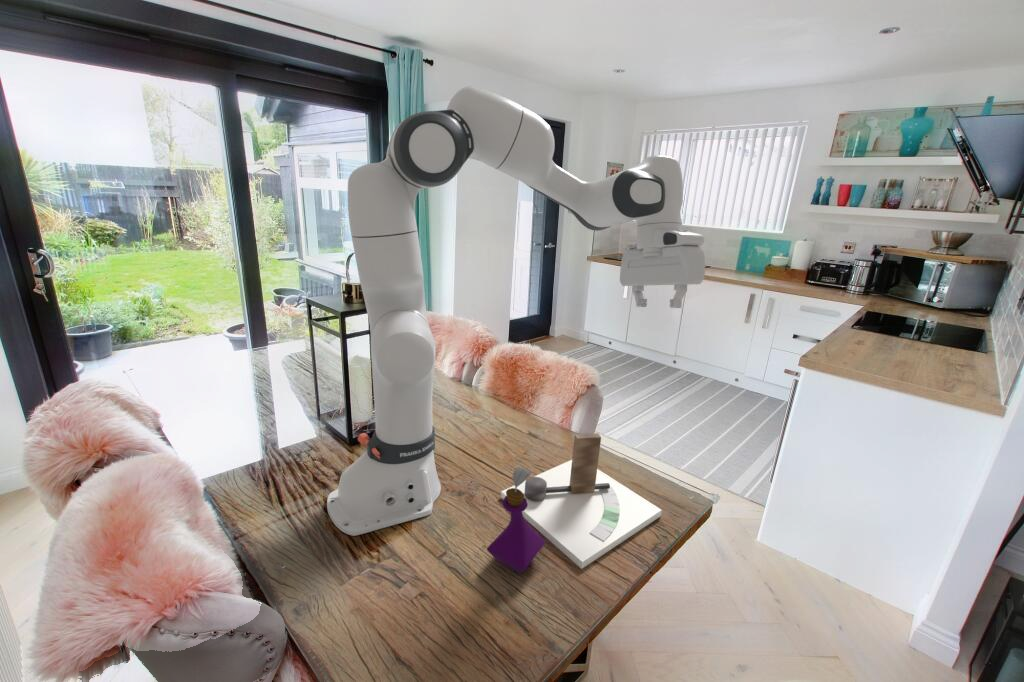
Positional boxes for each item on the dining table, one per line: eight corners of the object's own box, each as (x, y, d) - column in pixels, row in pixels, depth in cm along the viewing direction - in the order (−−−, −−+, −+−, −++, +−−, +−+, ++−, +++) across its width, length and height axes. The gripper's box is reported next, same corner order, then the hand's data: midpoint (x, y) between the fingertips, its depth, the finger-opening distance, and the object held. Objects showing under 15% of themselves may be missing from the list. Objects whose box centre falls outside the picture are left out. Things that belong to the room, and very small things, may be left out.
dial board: (581, 568, 77) (582, 560, 76) (500, 497, 93) (501, 490, 93) (660, 516, 90) (662, 509, 90) (577, 462, 107) (578, 455, 107)
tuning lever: (526, 501, 90) (531, 444, 86) (522, 488, 94) (526, 433, 90) (612, 495, 93) (620, 440, 89) (604, 482, 97) (611, 429, 93)
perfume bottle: (523, 585, 73) (530, 491, 67) (485, 564, 76) (488, 474, 71) (545, 556, 79) (552, 468, 73) (509, 538, 83) (514, 453, 77)
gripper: (613, 244, 100) (612, 306, 102) (688, 233, 82) (686, 309, 84) (634, 245, 103) (633, 305, 105) (711, 235, 85) (709, 308, 87)
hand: (657, 307), depth 94 cm, fingers open, 8 cm apart
